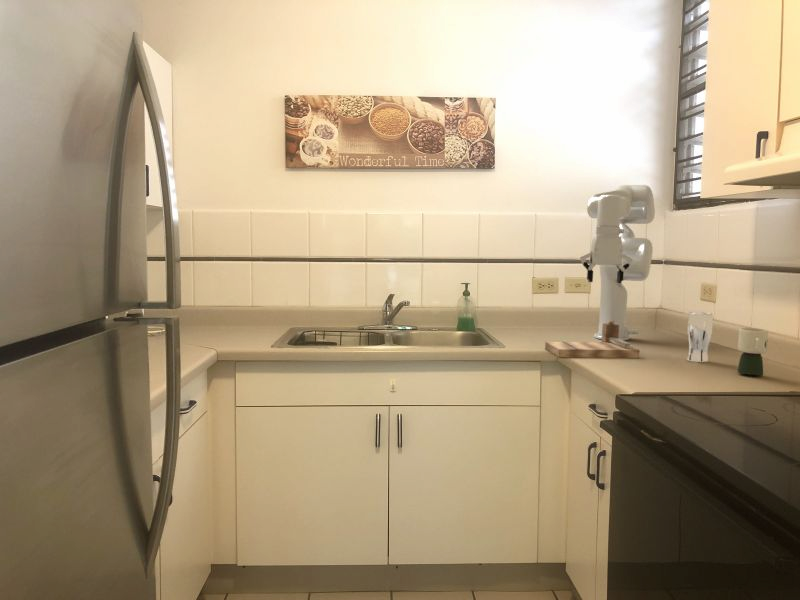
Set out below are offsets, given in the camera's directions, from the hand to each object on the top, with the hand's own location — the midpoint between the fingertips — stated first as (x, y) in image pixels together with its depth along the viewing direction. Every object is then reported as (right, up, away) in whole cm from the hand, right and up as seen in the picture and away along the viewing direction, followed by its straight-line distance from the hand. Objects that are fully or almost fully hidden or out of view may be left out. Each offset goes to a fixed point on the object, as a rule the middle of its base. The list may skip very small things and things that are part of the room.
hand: (604, 282), depth 213 cm
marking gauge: (+2, -23, -6) cm, 24 cm away
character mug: (+29, -27, -37) cm, 54 cm away
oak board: (-8, -23, -9) cm, 26 cm away
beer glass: (+23, -25, -18) cm, 39 cm away
